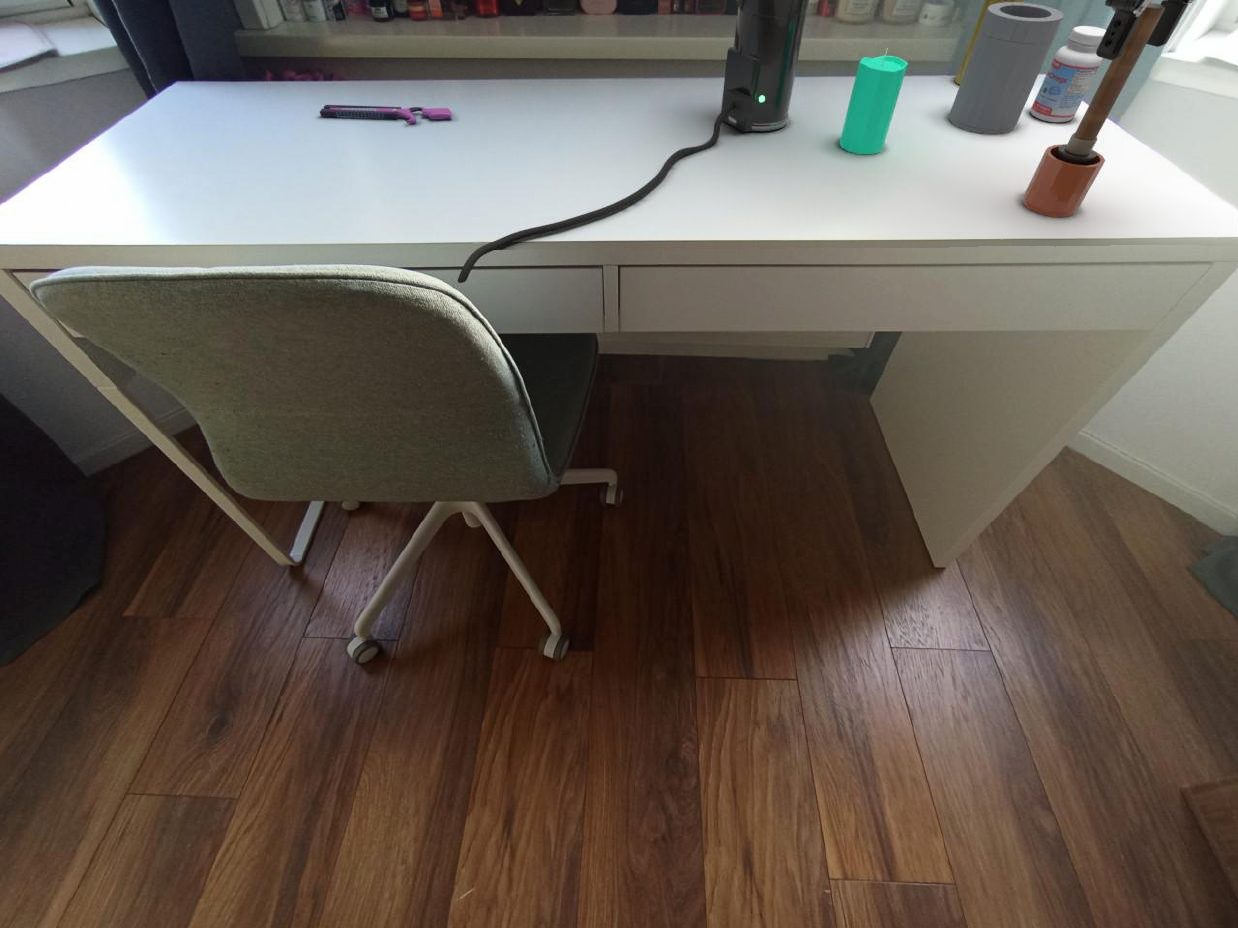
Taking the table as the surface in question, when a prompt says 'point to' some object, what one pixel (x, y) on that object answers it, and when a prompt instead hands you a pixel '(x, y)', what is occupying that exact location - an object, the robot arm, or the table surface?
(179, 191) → the table surface
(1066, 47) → the pill bottle
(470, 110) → the table surface
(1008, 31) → the gray cylindrical container
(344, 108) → the pink toy gun
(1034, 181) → the holder
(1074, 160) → the bottle brush
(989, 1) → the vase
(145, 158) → the table surface
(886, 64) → the candle
